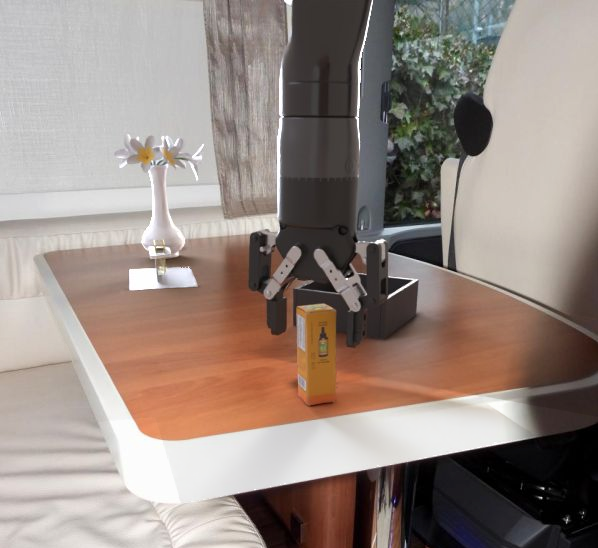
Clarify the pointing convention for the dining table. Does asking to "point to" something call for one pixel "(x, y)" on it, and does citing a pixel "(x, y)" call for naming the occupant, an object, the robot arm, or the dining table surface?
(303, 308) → the supplement box
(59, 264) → the dining table surface
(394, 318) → the basket
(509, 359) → the dining table surface
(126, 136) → the flower vase
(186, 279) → the platform
